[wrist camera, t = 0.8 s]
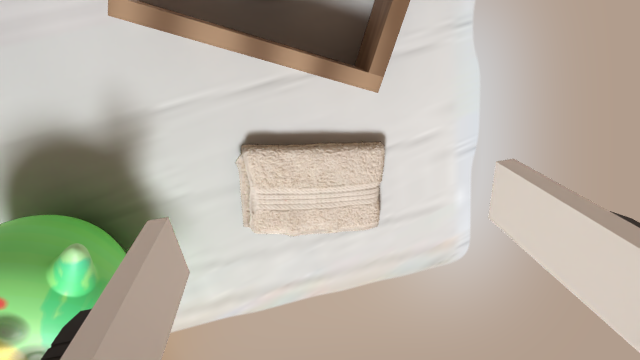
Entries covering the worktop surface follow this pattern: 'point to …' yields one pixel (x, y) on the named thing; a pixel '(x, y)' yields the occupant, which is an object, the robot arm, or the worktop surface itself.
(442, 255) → the worktop surface
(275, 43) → the u-shaped wooden frame
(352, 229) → the washcloth
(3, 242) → the toy bird
